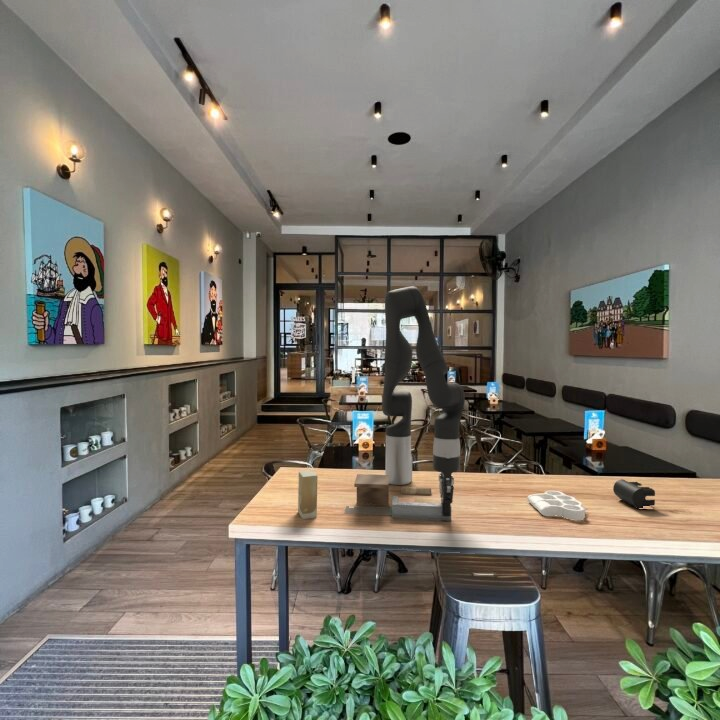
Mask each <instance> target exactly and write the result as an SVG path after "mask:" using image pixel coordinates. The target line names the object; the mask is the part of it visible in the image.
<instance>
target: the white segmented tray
mask: <svg viewBox="0 0 720 720" xmlns="http://www.w3.org/2000/svg"><path fill="white" fill-rule="evenodd" d="M526 500H527V502H529V503H530V504H531V505H532V506H533V508H535V509H536V510H538V512H539V513H540V514H541V515H543V516H544V517H556V516H555V515H558V516H557V517H559V516H563V517H565V518H568V519H574V520H582V519H584V518H586V516H585V515H586V511H587V510H588V508H586V507H584V506H583V503H582V502H581V501H579V500H577V499H576V497H574V496H571V495H567V494H565V493H564V492H562V491H558V490H546V491H545V492H544V493H534V494H529V495H528V496H527V497H526ZM565 518H564V519H565Z"/></svg>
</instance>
